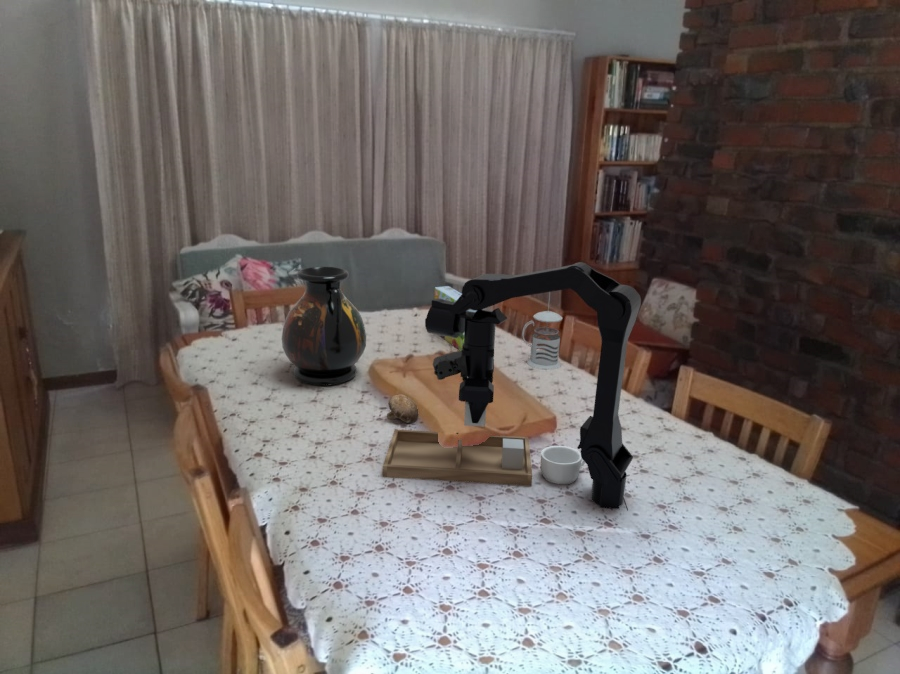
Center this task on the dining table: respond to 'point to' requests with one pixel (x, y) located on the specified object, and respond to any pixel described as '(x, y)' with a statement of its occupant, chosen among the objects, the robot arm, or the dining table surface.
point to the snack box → (452, 296)
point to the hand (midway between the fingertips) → (475, 418)
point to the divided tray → (453, 460)
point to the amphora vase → (323, 330)
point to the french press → (545, 342)
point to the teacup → (561, 464)
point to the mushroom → (402, 408)
